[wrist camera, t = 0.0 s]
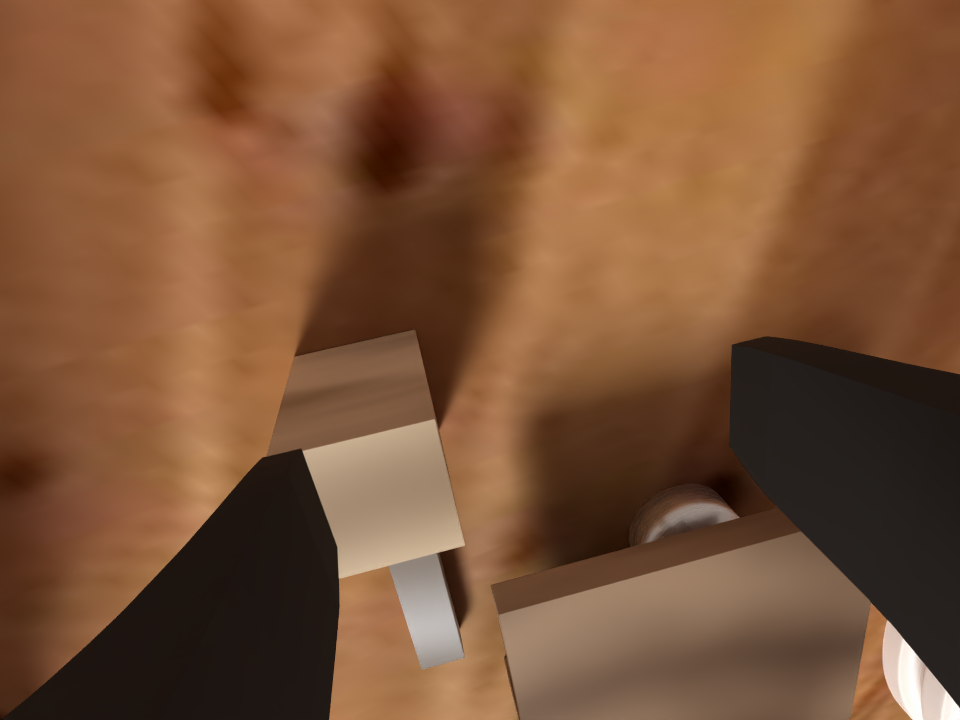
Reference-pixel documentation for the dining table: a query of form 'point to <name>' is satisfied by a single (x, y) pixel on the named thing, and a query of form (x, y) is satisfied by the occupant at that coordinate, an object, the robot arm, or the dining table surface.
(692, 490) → the cylinder
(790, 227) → the dining table surface
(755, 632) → the shelf
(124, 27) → the dining table surface
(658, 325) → the dining table surface
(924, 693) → the plate stack
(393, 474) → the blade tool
